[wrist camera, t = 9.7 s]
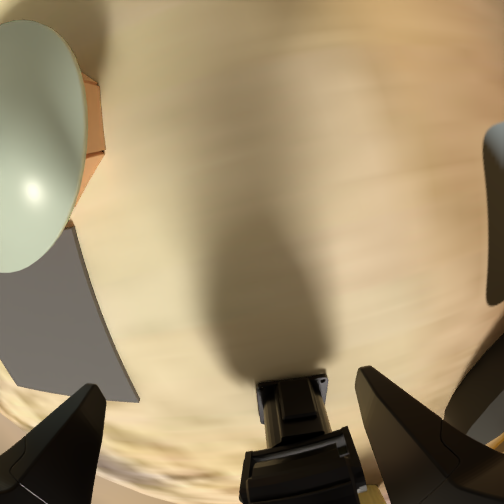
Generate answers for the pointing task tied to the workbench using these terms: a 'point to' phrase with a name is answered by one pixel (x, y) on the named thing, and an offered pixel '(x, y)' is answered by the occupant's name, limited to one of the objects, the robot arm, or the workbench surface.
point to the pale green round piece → (38, 140)
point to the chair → (481, 398)
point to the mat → (58, 327)
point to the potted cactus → (371, 496)
